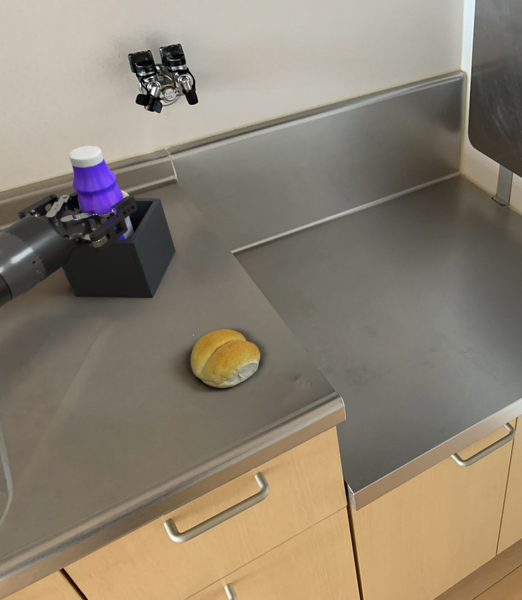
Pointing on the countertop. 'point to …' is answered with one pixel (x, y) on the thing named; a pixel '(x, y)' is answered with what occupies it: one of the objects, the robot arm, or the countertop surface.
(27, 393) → the countertop surface
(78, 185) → the bottle
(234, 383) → the bread roll
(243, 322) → the countertop surface
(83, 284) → the trash bin
